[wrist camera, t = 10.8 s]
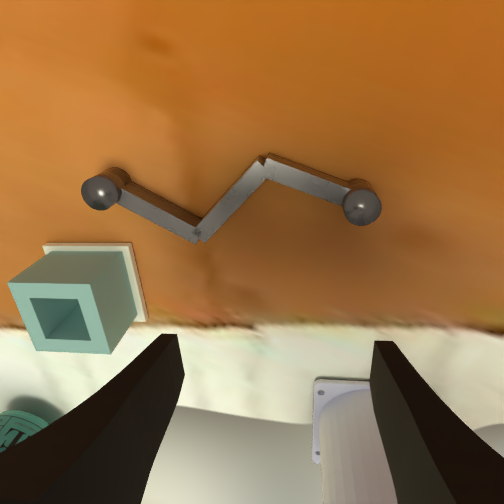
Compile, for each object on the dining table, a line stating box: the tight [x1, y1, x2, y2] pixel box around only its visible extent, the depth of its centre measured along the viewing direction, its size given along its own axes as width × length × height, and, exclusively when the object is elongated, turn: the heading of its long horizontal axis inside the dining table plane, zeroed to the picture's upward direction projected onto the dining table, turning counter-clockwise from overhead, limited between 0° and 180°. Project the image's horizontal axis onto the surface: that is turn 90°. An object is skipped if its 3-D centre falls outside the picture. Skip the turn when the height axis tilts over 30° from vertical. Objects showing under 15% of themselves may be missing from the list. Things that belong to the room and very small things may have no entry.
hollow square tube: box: [7, 251, 138, 354], centre depth 22 cm, size 5×5×4 cm
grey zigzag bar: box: [81, 153, 381, 244], centre depth 20 cm, size 5×16×2 cm, turn 93°
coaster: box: [43, 243, 148, 322], centre depth 24 cm, size 6×6×1 cm
